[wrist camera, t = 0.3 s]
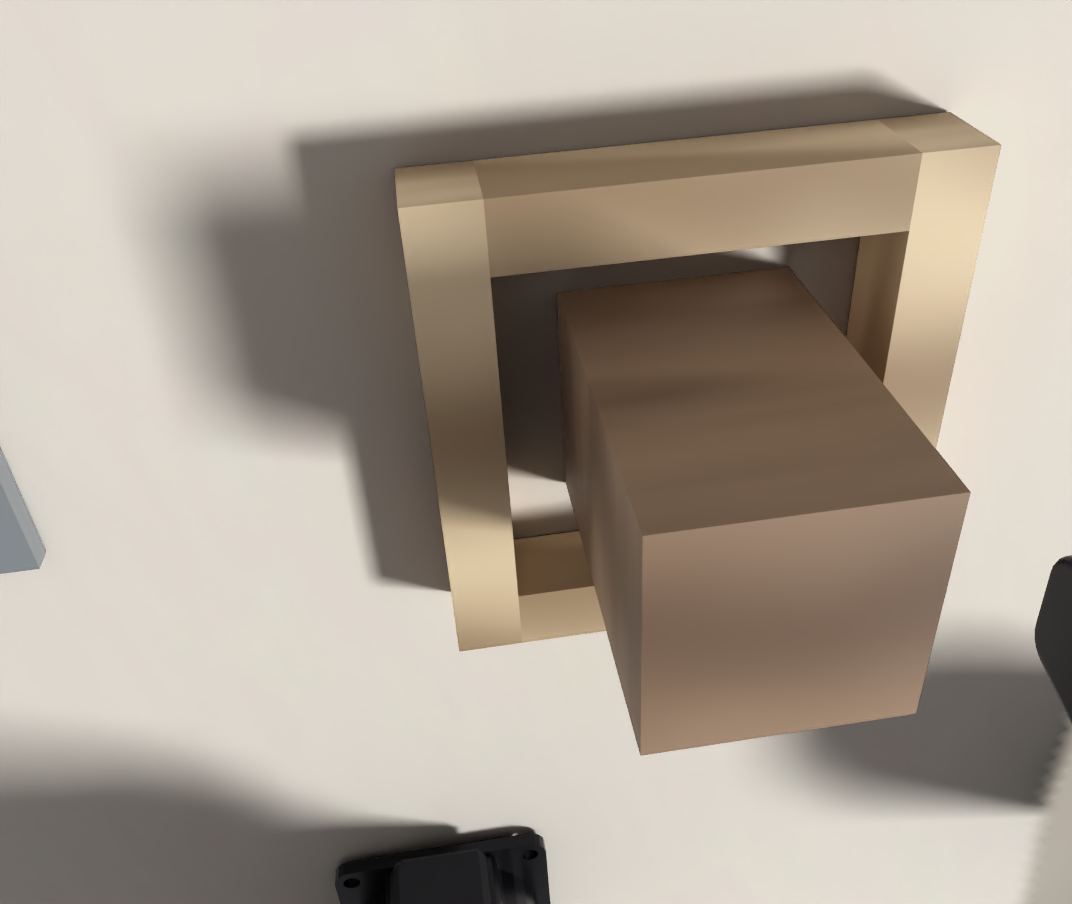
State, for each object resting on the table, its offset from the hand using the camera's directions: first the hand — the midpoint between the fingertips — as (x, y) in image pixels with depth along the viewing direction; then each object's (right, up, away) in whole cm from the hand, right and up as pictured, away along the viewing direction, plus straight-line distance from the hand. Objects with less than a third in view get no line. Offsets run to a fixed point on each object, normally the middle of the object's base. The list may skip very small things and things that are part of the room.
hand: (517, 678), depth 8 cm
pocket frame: (+3, +3, +15) cm, 15 cm away
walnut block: (+3, +3, +15) cm, 16 cm away
